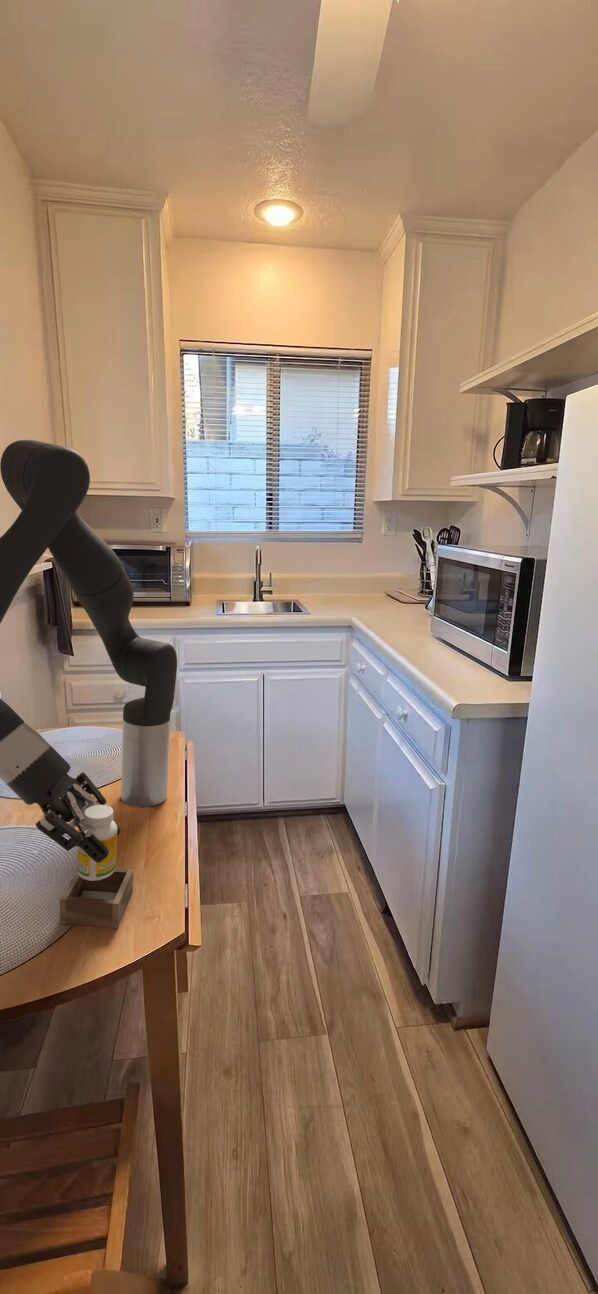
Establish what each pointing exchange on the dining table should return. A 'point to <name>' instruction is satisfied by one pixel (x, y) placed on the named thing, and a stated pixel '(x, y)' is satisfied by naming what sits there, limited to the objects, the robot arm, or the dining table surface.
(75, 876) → the holder
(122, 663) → the robot arm
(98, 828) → the supplement bottle
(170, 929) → the dining table surface
